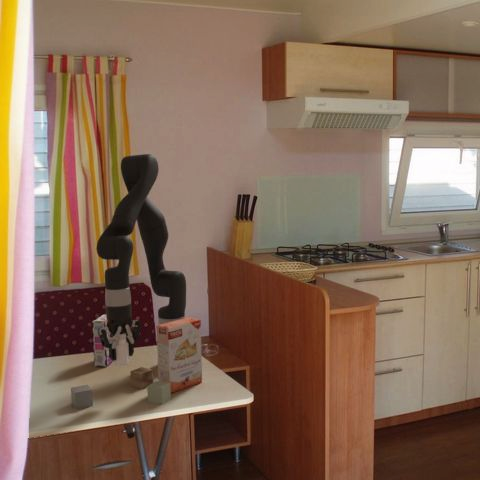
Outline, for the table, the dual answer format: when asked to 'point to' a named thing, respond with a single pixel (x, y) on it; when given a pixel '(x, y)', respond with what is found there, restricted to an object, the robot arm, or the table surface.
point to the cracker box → (179, 353)
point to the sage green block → (159, 392)
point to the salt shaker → (122, 351)
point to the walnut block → (141, 377)
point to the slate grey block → (81, 396)
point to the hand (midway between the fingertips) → (121, 357)
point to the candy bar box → (99, 351)
